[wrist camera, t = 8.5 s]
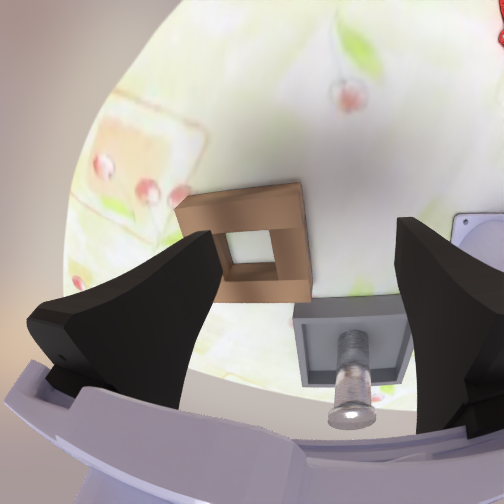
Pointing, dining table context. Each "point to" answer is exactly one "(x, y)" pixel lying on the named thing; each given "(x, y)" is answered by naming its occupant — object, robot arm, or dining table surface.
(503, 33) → the tow hook
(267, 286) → the holder block
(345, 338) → the steel pin
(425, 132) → the dining table surface
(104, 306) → the robot arm
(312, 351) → the tray
